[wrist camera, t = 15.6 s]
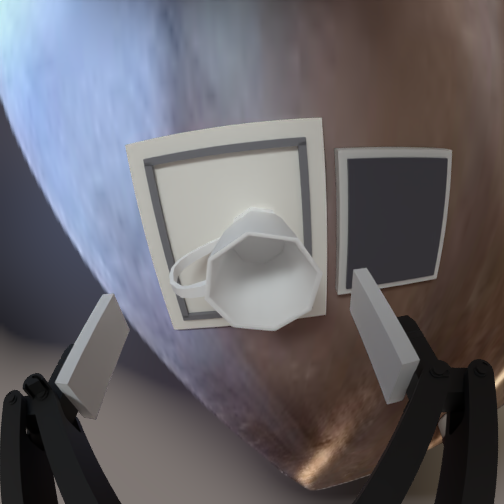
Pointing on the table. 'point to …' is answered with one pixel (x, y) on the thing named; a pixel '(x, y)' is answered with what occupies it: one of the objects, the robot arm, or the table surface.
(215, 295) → the cup
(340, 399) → the table surface
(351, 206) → the ink pad
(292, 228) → the board
